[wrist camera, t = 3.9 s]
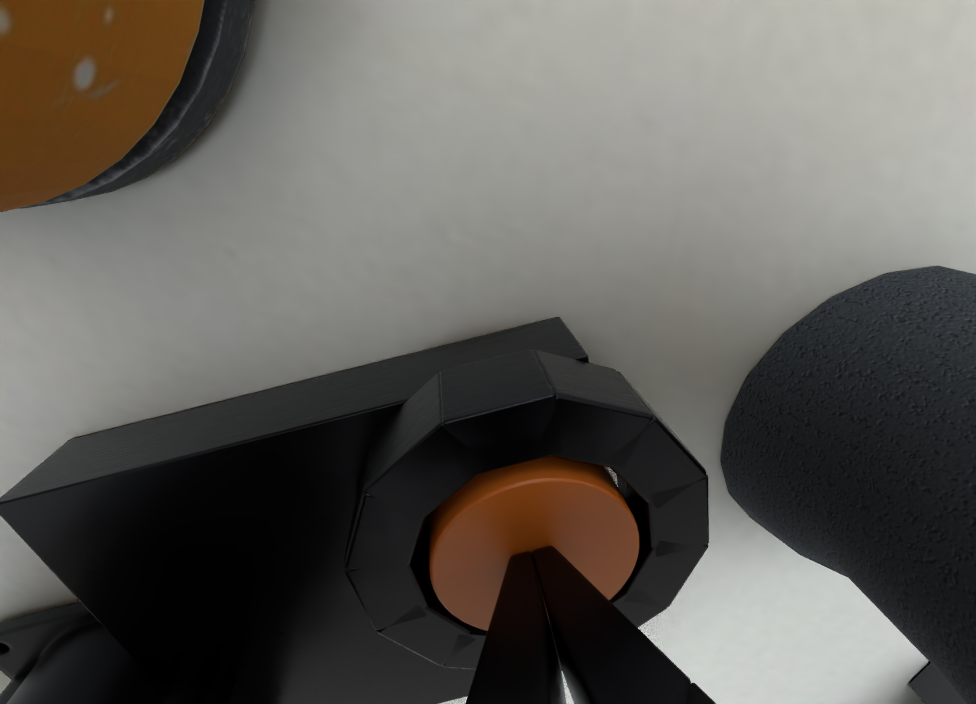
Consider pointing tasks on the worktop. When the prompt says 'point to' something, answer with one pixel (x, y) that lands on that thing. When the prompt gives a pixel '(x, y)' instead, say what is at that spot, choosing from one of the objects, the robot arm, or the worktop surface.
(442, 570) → the button
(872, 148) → the worktop surface
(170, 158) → the canister
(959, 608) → the mug
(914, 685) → the grey bridge block
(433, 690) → the button block
